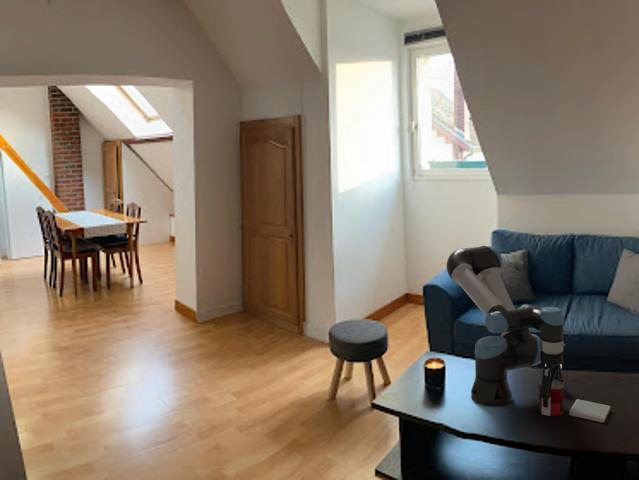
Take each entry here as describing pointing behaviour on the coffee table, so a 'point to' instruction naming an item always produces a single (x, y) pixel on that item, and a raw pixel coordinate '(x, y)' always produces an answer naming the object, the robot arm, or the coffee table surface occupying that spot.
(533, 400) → the coffee table surface
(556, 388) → the canned food
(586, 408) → the tray
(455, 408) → the coffee table surface
